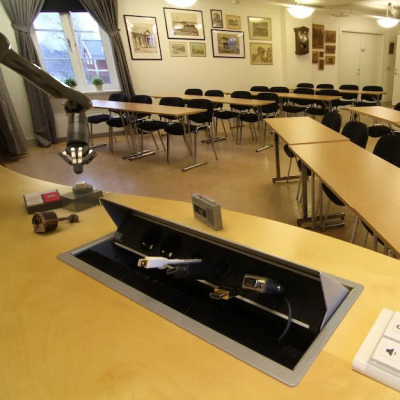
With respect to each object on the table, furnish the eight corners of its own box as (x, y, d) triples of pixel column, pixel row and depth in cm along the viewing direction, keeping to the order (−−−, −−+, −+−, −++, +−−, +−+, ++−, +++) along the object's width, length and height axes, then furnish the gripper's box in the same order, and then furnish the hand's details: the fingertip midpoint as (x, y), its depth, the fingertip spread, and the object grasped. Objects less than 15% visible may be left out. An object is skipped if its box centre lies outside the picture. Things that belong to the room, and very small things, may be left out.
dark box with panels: (25, 205, 118) (22, 193, 128) (29, 216, 120) (25, 203, 129) (62, 198, 125) (56, 187, 135) (65, 208, 127) (59, 196, 137)
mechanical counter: (25, 213, 108) (25, 216, 100) (70, 200, 115) (73, 202, 108) (35, 233, 110) (35, 237, 102) (79, 219, 117) (82, 222, 110)
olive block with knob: (76, 212, 122) (70, 194, 119) (62, 208, 125) (57, 190, 123) (105, 203, 131) (100, 185, 128) (91, 199, 135) (87, 182, 132)
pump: (80, 189, 125) (78, 184, 124) (74, 188, 126) (73, 183, 126) (89, 186, 128) (88, 182, 127) (84, 185, 129) (83, 180, 129)
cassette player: (194, 217, 119) (190, 192, 115) (201, 215, 121) (197, 190, 117) (215, 230, 109) (212, 203, 106) (223, 228, 111) (220, 201, 107)
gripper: (54, 131, 125) (53, 170, 119) (94, 130, 130) (95, 166, 124) (62, 142, 132) (61, 179, 126) (99, 140, 137) (101, 176, 131)
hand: (78, 173), depth 125 cm, fingers closed
